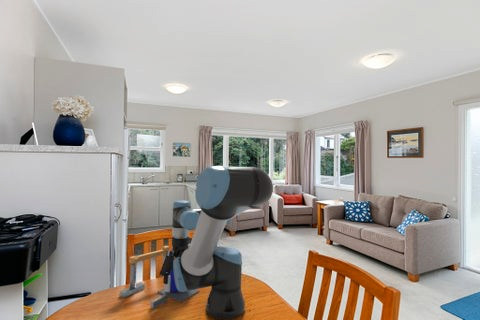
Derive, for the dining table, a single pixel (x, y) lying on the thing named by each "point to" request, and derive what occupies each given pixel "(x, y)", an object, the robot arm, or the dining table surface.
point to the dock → (138, 287)
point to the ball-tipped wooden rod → (148, 255)
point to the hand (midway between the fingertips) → (178, 285)
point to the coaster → (179, 294)
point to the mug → (172, 282)
